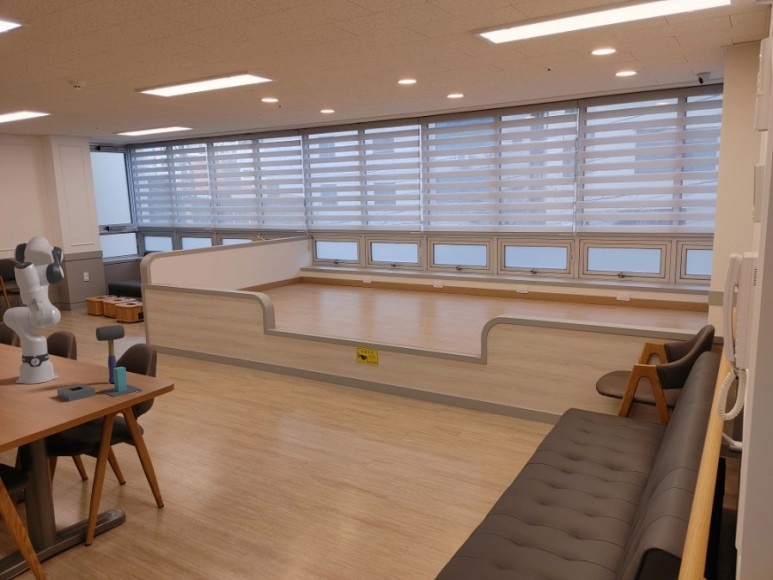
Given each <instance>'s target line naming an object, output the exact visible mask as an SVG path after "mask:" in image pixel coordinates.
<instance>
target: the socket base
mask: <svg viewBox="0 0 773 580" xmlns="http://www.w3.org/2000/svg"><path fill="white" fill-rule="evenodd" d="M56 391H57V393H56V395H57V398H58V399H59V398H60V399H61V400H64V401H66V402H73V401H78V400H83V399H87V398H90V397H95V396H96V388H95V387H94V386H90V385H87V384H85V383H81V384H76V385H71V386H68V387H61V388H58V389H57V390H56Z"/></svg>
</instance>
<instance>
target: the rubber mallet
mask: <svg viewBox="0 0 773 580" xmlns="http://www.w3.org/2000/svg"><path fill="white" fill-rule="evenodd" d="M95 337H96V340H97V341H98V342H107V345H108V347H107V348H108V356H107V367H108V375H109V377H108V383H114V370H113V368H117V360H116V355H115V343H114V341H115V340H121V339H124V337H125V327H124V326H123V325H122V324H119V325H118V324H117V325H116V324H115V325H106V326H100V327H96V329H95Z"/></svg>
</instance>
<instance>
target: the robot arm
mask: <svg viewBox="0 0 773 580" xmlns="http://www.w3.org/2000/svg"><path fill="white" fill-rule="evenodd" d="M13 257H14V259H15V260H14V261H16V262H17V263H18V264H15V266H14V275H15V277H14V278H15V282H16V284H17V286H18V288H19V294H20V298H21V301H22V304H23V305H26V306H17V307H16V306H15V307H11V308H8V309H7V310H5V312H4V314H3V317H2V318H3V322H4V324H5V326H7V327H8V328H10V329H11V330H12V331H14V333H16V335H17V336H18V339H20V344H21V350H22V355H21V362H22V363H21V364H20V365H19V366H18V370H19V371H18V372H19V377H18V378H17V379H16V380H15V384H26V385H30V384H32V385H34V384H41V383H45V382H48V381H49V382H50V381H52V380H56V379H58V378H59V376H58V375H57V374H56V373H55V371H54V366H53V362H51V361H50V360H49V359H50V354H49V352H48V343H47V338H46V337H45V336H44V335H43V334H40V333H38V332H37V331H36V330H35V328H40V329H41V330H43V329H46V328H49V327H54V326H57V325H58V324H59V323H60V320H61V317H62V316H61V315H62V314H61V311H60V310H59V309H58V308H57V307H56V306H55V305H53V304H52V303H51V301H50V299H49V286H51V285H60V284H61V282H62V281H63V280H64V278H65V277H64V276H65V274H64V270H63V268H62V267H61V263H62V262H63V260H64V253H63V249H62V248H61V247H58V246H55V245H54V246H53V245H51V244H50V242H49V240H48V239H47V238H45V237H44V236H37V235H36V236H33V237H32V238H31V239H30V240H28V242H27V243H26V242H23V243H19V244H17V245H16V247H15V249H14V251H13Z"/></svg>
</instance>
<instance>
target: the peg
mask: <svg viewBox="0 0 773 580" xmlns="http://www.w3.org/2000/svg"><path fill="white" fill-rule="evenodd" d="M126 369H127V368H126V367H124V366H118V367H117V366H116V368H113V370H114V387H115V391H118V392H120V391H124V390H127V385H128V383H127V370H126ZM114 387H113V388H114Z"/></svg>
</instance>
